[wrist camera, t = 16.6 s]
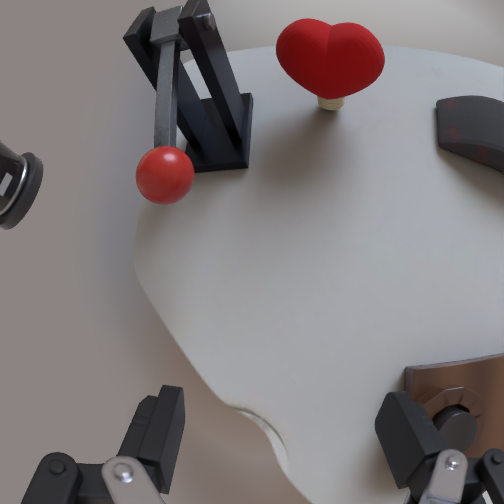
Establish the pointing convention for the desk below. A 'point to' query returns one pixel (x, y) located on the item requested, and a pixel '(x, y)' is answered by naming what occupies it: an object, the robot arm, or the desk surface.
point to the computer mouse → (473, 128)
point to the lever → (166, 119)
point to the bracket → (188, 102)
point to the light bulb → (330, 59)
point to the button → (456, 428)
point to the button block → (464, 395)
